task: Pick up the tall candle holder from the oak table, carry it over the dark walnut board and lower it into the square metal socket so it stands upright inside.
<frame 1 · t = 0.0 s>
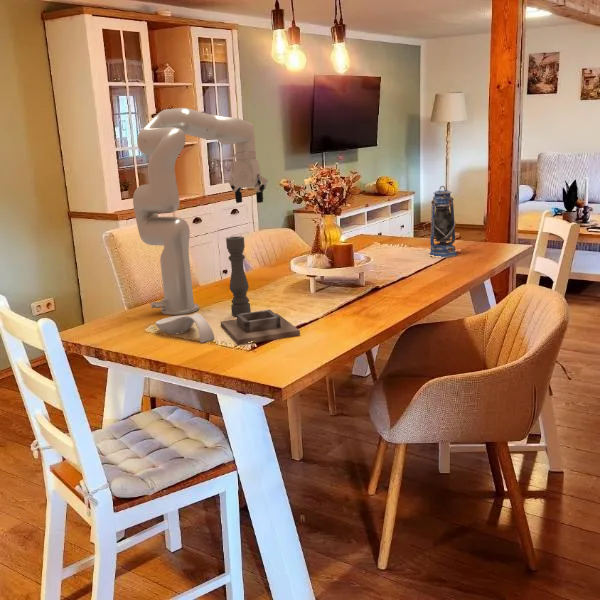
hand: (249, 202, 262), 31 cm above the table, tool pointing down, fingers open, 9 cm apart
socket board: (259, 330, 202), on the table
candle holder: (241, 315, 222), on the table
lantern: (443, 255, 301), on the table
spoon rest: (187, 335, 204), on the table
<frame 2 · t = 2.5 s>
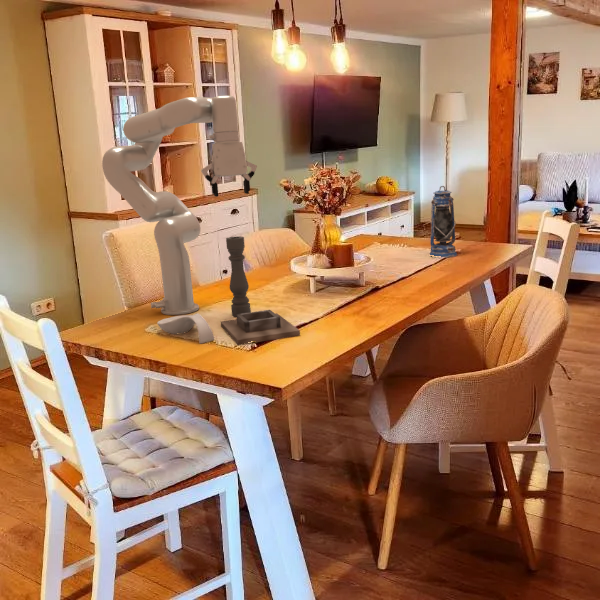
hand: (231, 194, 213), 38 cm above the table, tool pointing down, fingers open, 9 cm apart
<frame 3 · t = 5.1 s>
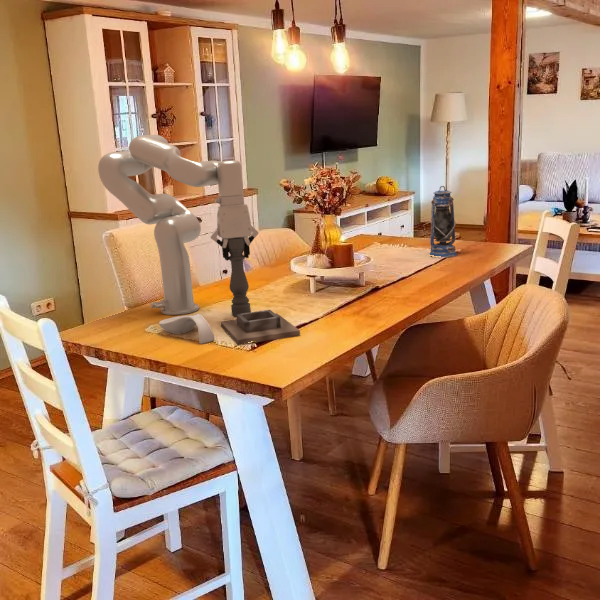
hand: (236, 258, 218), 19 cm above the table, tool pointing down, fingers closed on candle holder, 5 cm apart
candle holder: (241, 315, 222), on the table, touching gripper
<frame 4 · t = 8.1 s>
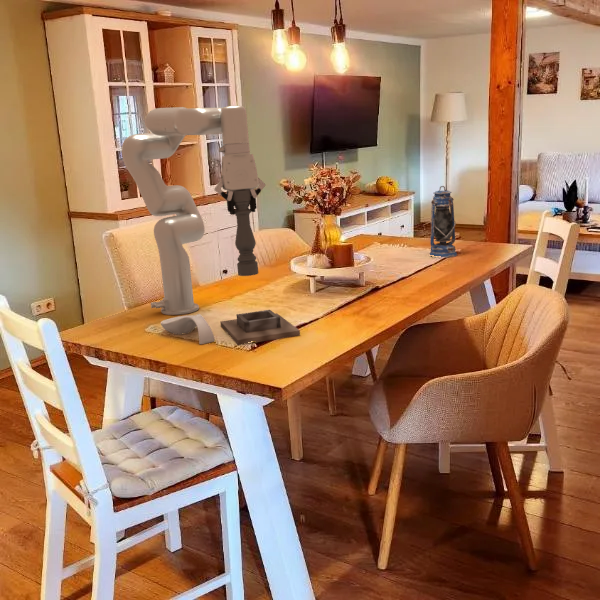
hand: (242, 212, 203), 34 cm above the table, tool pointing down, fingers closed on candle holder, 5 cm apart
candle holder: (248, 274, 207), point 15 cm above the table, touching gripper
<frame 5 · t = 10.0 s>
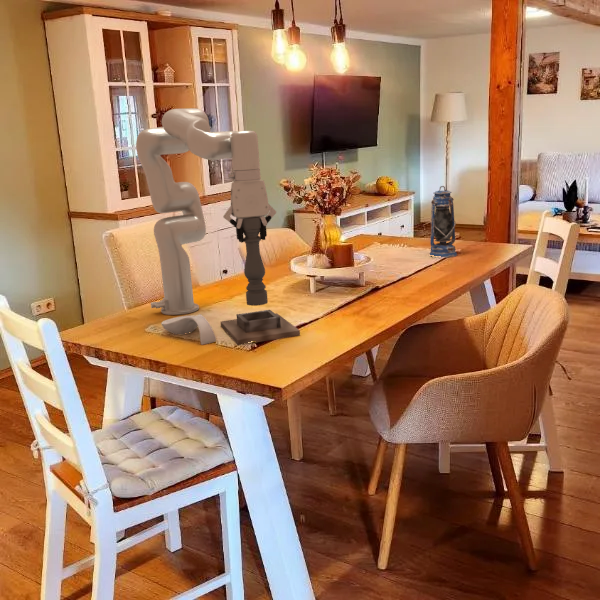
hand: (252, 240, 196), 27 cm above the table, tool pointing down, fingers closed on candle holder, 5 cm apart
candle holder: (257, 303, 200), point 8 cm above the table, touching gripper
when the fingers open (21 cm above the table, at t = 11.4 s): candle holder drops 1 cm, resting on socket board.
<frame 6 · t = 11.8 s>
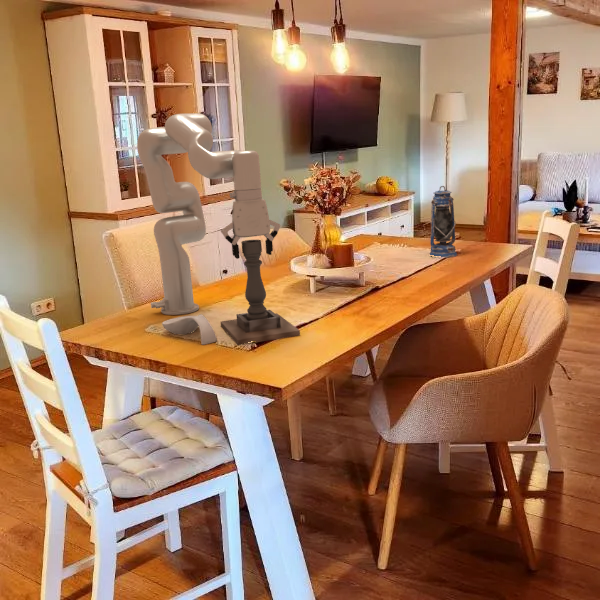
hand: (253, 256, 197), 22 cm above the table, tool pointing down, fingers open, 9 cm apart
candle holder: (258, 326, 202), point 1 cm above the table, touching socket board
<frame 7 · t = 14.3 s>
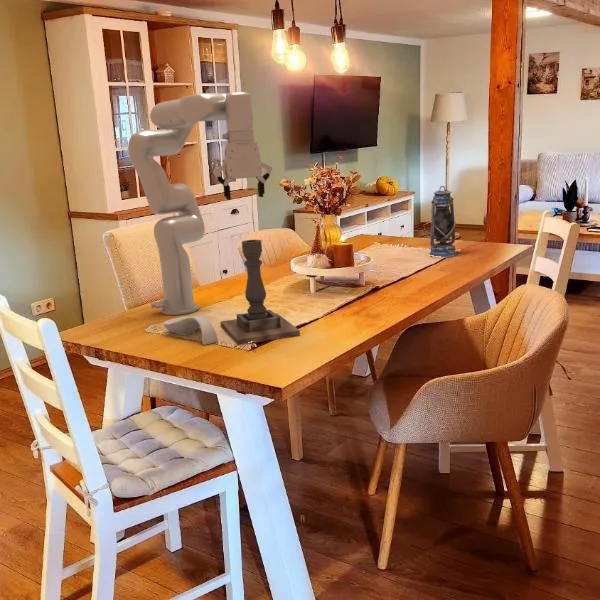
hand: (244, 198, 200), 38 cm above the table, tool pointing down, fingers open, 9 cm apart
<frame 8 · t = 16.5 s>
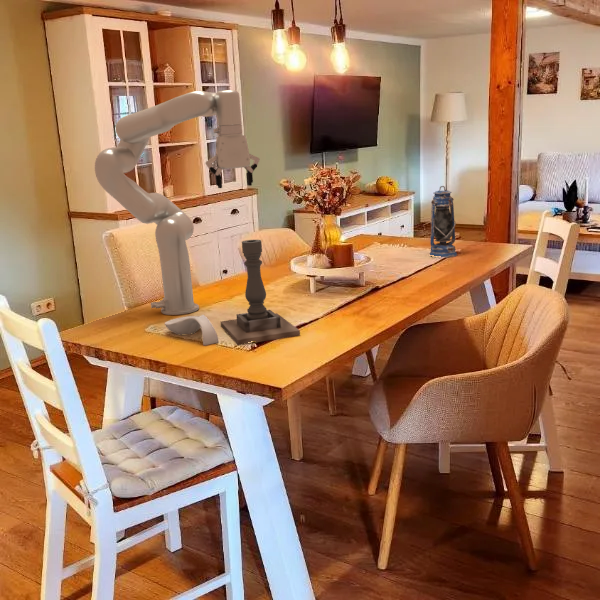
hand: (234, 186, 220), 40 cm above the table, tool pointing down, fingers open, 9 cm apart
at the end: candle holder 0.2 cm off-centre on the socket board, point 1.3 cm above the socket board's base; candle holder tilted 0°; the gripper is holding nothing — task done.
